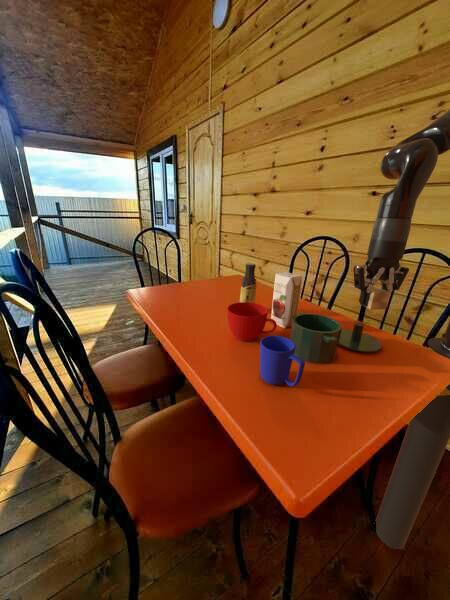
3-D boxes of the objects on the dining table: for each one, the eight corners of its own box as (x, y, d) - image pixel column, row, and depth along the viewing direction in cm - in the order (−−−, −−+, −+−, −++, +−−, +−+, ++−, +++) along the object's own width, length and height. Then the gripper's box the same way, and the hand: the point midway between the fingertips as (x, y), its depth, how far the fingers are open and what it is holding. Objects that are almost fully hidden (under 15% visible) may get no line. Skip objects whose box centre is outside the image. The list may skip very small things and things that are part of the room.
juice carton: (281, 317, 101) (286, 270, 95) (298, 325, 95) (305, 275, 88) (267, 321, 97) (272, 273, 91) (285, 330, 90) (291, 278, 84)
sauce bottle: (245, 314, 103) (248, 266, 97) (236, 309, 108) (238, 263, 101) (257, 311, 107) (261, 264, 100) (247, 306, 112) (250, 261, 105)
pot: (318, 335, 87) (322, 309, 84) (350, 367, 69) (357, 336, 66) (279, 336, 85) (282, 310, 82) (303, 370, 68) (308, 338, 65)
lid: (361, 331, 91) (365, 314, 89) (391, 353, 77) (397, 333, 75) (323, 333, 89) (326, 315, 87) (347, 355, 76) (351, 335, 73)
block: (374, 303, 69) (377, 287, 67) (386, 309, 64) (390, 292, 63) (358, 303, 68) (362, 287, 66) (370, 309, 64) (374, 292, 62)
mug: (285, 403, 55) (291, 364, 52) (250, 375, 65) (253, 340, 62) (310, 390, 60) (316, 353, 57) (274, 365, 69) (278, 332, 66)
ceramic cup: (263, 355, 74) (266, 324, 71) (218, 337, 83) (219, 309, 80) (282, 339, 84) (286, 311, 80) (240, 325, 93) (241, 299, 90)
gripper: (372, 239, 56) (356, 311, 62) (428, 240, 58) (408, 310, 64) (351, 235, 63) (338, 300, 69) (402, 237, 65) (386, 300, 71)
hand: (372, 304), depth 66 cm, fingers closed on block, 4 cm apart
